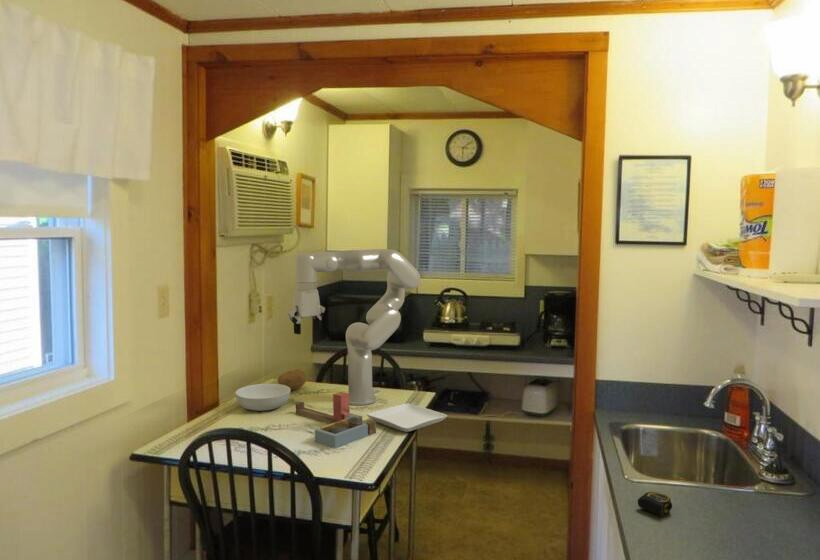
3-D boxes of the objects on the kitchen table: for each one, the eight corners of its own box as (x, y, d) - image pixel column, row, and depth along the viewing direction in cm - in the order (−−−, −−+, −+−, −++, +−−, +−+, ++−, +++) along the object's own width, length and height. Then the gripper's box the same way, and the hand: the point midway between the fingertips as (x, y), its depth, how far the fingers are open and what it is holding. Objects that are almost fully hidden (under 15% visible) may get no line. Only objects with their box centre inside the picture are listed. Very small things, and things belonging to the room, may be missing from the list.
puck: (340, 434, 215) (339, 426, 215) (353, 438, 211) (353, 429, 211) (327, 439, 210) (327, 430, 210) (341, 443, 207) (341, 434, 206)
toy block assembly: (341, 421, 227) (341, 391, 226) (363, 427, 220) (363, 397, 219) (305, 433, 214) (304, 402, 213) (327, 440, 207) (327, 408, 206)
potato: (271, 391, 269) (271, 372, 269) (295, 384, 281) (295, 366, 280) (287, 395, 264) (287, 376, 263) (311, 387, 275) (311, 369, 274)
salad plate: (449, 423, 228) (449, 414, 227) (406, 437, 213) (406, 427, 212) (407, 410, 243) (407, 402, 242) (365, 423, 228) (365, 413, 227)
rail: (301, 411, 240) (301, 401, 240) (375, 433, 216) (375, 421, 216) (295, 413, 238) (295, 403, 237) (369, 435, 214) (369, 423, 213)
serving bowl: (224, 412, 240) (223, 394, 240) (257, 398, 260) (256, 381, 259) (270, 418, 233) (270, 400, 232) (301, 403, 252) (300, 386, 251)
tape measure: (635, 509, 159) (636, 495, 158) (652, 502, 163) (653, 488, 162) (660, 520, 153) (660, 505, 153) (677, 512, 157) (677, 498, 157)
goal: (347, 430, 219) (347, 418, 219) (367, 436, 213) (367, 424, 213) (314, 441, 207) (314, 429, 207) (335, 448, 201) (335, 436, 201)
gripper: (317, 284, 246) (317, 328, 248) (281, 288, 233) (282, 334, 234) (330, 285, 241) (331, 330, 243) (295, 289, 228) (296, 336, 230)
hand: (307, 332), depth 239 cm, fingers open, 9 cm apart
